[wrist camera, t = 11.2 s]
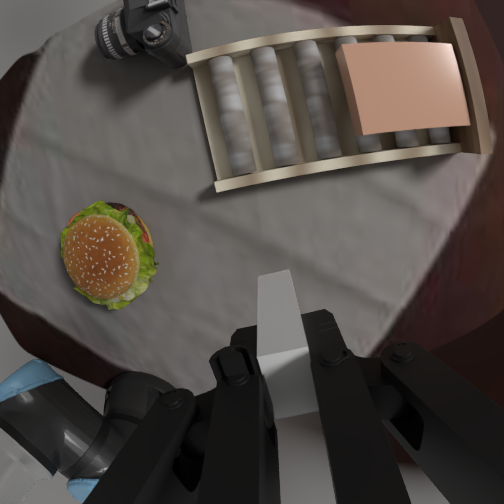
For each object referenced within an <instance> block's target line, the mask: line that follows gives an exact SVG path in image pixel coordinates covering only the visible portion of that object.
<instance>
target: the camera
mask: <svg viewBox="0 0 504 504" xmlns="http://www.w3.org/2000/svg"><path fill="white" fill-rule="evenodd" d="M123 2H124V7H123V8H120V9H118V10H117V11H116V12H114V13H113V14H109V15H107V16H105V17H104V18H103V19H102V20H100V22H99V24H97V26H96V28H95V40H96V43H97V46H98V48H99V50H100V52H101V53H102V55H103V56H104V57H106V58H108V59H122V58H125V57H126V56H130V55H137V54H139V53H140V52H142V51H147V52H148V53H149V55H152V56H154V57H156V58H157V59H159V60H160V61H161V62H163V63H164V64H166V65H167V66H168V67H170V68H177V67H180V66H184V65H186V64H187V58H186V55H188V54H191V53H192V47H191V41H190V36H189V31H188V24H187V17H186V13H185V5H184V0H123Z"/></svg>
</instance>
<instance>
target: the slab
mask: <svg viewBox="0 0 504 504" xmlns="http://www.w3.org/2000/svg"><path fill="white" fill-rule="evenodd" d="M335 55H336V58H337V62H338V66H339V70H340V74H341V78H342V81H343V86H344V90H345V94H346V98H347V103H348V107H349V111H350V116H351V121H352V126H353V130H354V135H355V136H360V135H368V134H376V133H384V132H393V131H402V130H412V129H423V128H435V127H449V126H467V125H471V124H470V118H469V113H468V107H467V102H466V97H465V93H464V88H463V84H462V80H461V76H460V72H459V68H458V64H457V60H456V57H455V53H454V50H453V47H452V44H448V43H431V42H371V43H353V44H341V46H340V47H339V49H338V50H337V51H336V53H335Z"/></svg>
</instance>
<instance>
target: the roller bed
mask: <svg viewBox="0 0 504 504" xmlns="http://www.w3.org/2000/svg"><path fill="white" fill-rule="evenodd" d="M371 42H431V43H448V44H452V47H453V50H454V53H455V57H456V60H457V64H458V68H459V72H460V76H461V80H462V84H463V88H464V93H465V97H466V102H467V107H468V113H469V118H470V124H471V125H467V126H449V127H435V128H423V129H412V130H402V131H393V132H384V133H376V134H368V135H360V136H355V135H354V130H353V126H352V121H351V116H350V111H349V107H348V103H347V98H346V94H345V90H344V86H343V81H342V78H341V74H340V70H339V66H338V62H337V58H336V55H335V53H336V51H337V50H338V49H339V47H340V46H341V44H353V43H371ZM186 58H187V63H188V65H189V66H190V67H191V68H192V69H193V73H194V77H195V82H196V86H197V91H198V95H199V100H200V104H201V109H202V113H203V118H204V122H205V127H206V131H207V136H208V140H209V144H210V149H211V153H212V158H213V162H214V166H215V171H216V175H217V179H218V180H217V181H215V182H214V183H215V188H216V192H221V191H226V190H230V189H235V188H239V187H244V186H249V185H254V184H258V183H263V182H268V181H273V180H278V179H284V178H289V177H294V176H300V175H305V174H311V173H316V172H322V171H328V170H334V169H340V168H346V167H352V166H358V165H365V164H372V163H378V162H385V161H393V160H400V159H408V158H415V157H424V156H432V155H441V154H450V153H460V152H464V153H475V154H489V153H493V150H492V142H491V134H490V127H489V121H488V115H487V110H486V104H485V99H484V94H483V90H482V85H481V81H480V77H479V73H478V69H477V65H476V61H475V58H474V54H473V51H472V47H471V44H470V41H469V38H468V34H467V31H466V28H465V26H464V23H463V20H462V19H461V18H453V17H449V18H447V19H446V20H444V21H442V22H441V23H439V24H438V25H436V26H435V27H424V26H396V25H378V26H349V27H334V28H323V29H313V30H304V31H296V32H289V33H282V34H276V35H270V36H264V37H259V38H254V39H249V40H244V41H239V42H234V43H230V44H226V45H221V46H217V47H213V48H209V49H206V50H202V51H198V52H195V53H191V54H188V55H186Z"/></svg>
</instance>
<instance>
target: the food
mask: <svg viewBox="0 0 504 504" xmlns="http://www.w3.org/2000/svg"><path fill="white" fill-rule="evenodd" d="M60 234H61V257H62V259H63V260H64V264H65V267H66V269H67V274H68V275H69V276H70V277H71V279H72V281H73V282H74V283H75V288H74V289H75V290H77V291H79V292H80V293H81V294H83V295H84V296H86V297H87V298H88V299H89V300H91V301H92V302H93V303H96V304H97V303H98V304H102V305H104V304H106V305H107V307H108V309H121V308H123V307H125V306H126V305H127V304H129V303H131V302H132V301H133V300H135V299H136V298H137V297H138V296H139V295H140V294H141V293H143V292H144V291H145V290H146V289H147V287H148V285H149V283H150V282H153V280H152V277H153V276H154V274H155V273H156V271H157V270H156V268H155V266H154V265H159V263H155V262H154V255H155V252H154V246H153V241H152V238H151V235H150V232H149V229H148V227H147V226H146V225H145V223H144V222H143V221H142V220H141V218H140V217H139V216H137V215H136V214H135V212H134V211H133V210H132V209H130V208H128V207H126V206H124V205H122V204H118V203H110V202H108V203H104V201H98V202H96V203H94V204H92V205H90V206H88V207H87V208H85V209H83V210H82V211H80V212H78V213H77V214H75V215H74V216H73V217H72V218H71V219H70V220H69V223H68V227H66V228H65V229H64V231H63V232H62V233H60Z"/></svg>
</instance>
